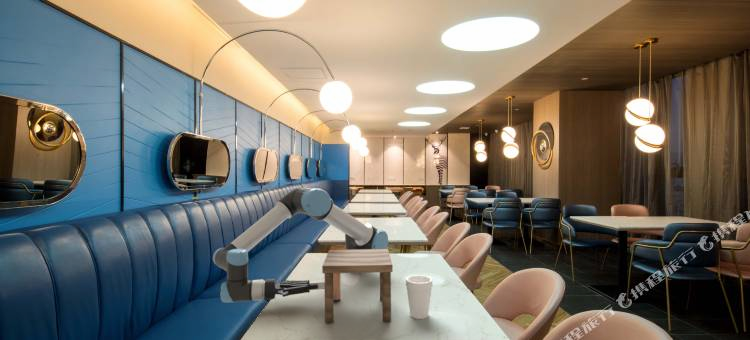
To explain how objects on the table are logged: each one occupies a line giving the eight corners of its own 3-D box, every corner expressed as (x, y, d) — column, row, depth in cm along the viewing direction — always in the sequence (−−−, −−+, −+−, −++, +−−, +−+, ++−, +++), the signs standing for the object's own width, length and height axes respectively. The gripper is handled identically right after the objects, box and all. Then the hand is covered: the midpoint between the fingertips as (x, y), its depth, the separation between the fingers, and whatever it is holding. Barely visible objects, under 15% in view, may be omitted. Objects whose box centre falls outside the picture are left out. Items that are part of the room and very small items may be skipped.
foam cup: (417, 307, 136) (417, 273, 136) (437, 315, 129) (437, 279, 129) (400, 315, 129) (400, 279, 129) (421, 323, 123) (421, 285, 123)
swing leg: (334, 317, 126) (334, 271, 126) (325, 317, 126) (325, 271, 126) (340, 297, 146) (340, 257, 146) (333, 297, 146) (333, 257, 146)
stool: (328, 298, 147) (328, 249, 147) (388, 297, 148) (387, 248, 147) (321, 324, 122) (320, 266, 122) (392, 322, 123) (392, 264, 123)
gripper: (266, 293, 144) (325, 288, 149) (262, 305, 131) (327, 300, 136) (265, 274, 144) (324, 270, 149) (262, 285, 131) (327, 280, 136)
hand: (326, 284), depth 143 cm, fingers closed
